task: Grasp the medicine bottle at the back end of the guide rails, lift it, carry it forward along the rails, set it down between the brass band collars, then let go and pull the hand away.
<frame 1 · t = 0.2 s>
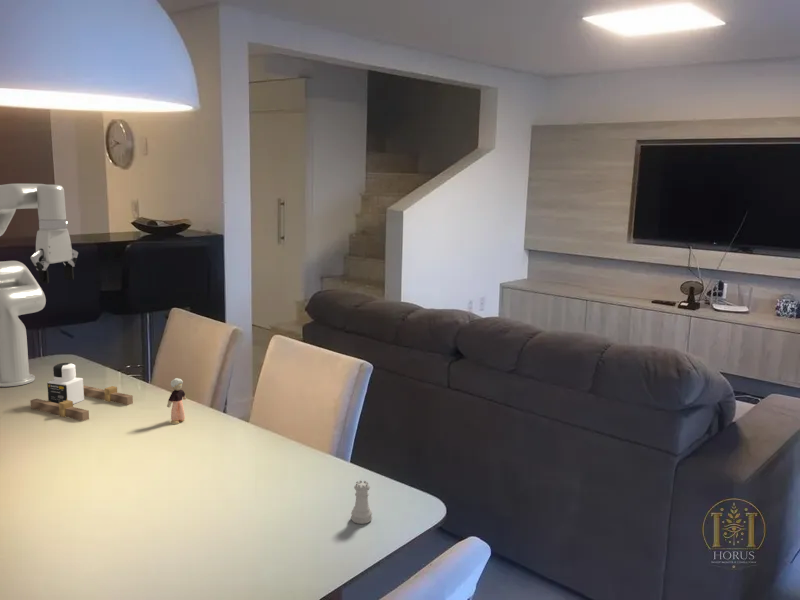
hand: (57, 281, 213), 36 cm above the table, tool pointing down, fingers open, 9 cm apart
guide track: (82, 405, 207), on the table
grandmother figurine: (178, 421, 197), on the table
rook chess piece: (361, 520, 142), on the table
medicine bottle: (66, 403, 210), on the table
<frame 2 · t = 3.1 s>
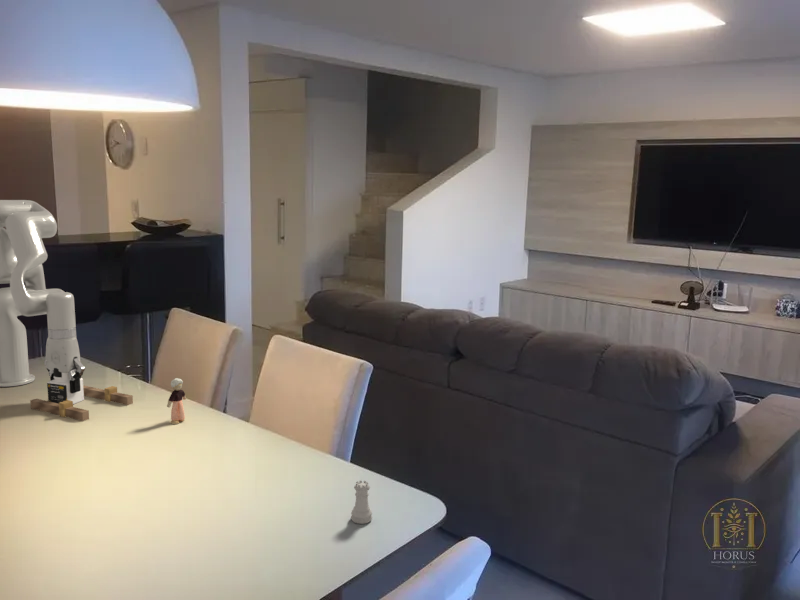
hand: (65, 389, 210), 4 cm above the table, tool pointing down, fingers closed on medicine bottle, 7 cm apart
medicine bottle: (66, 402, 210), on the table, touching gripper
everything else where it was.
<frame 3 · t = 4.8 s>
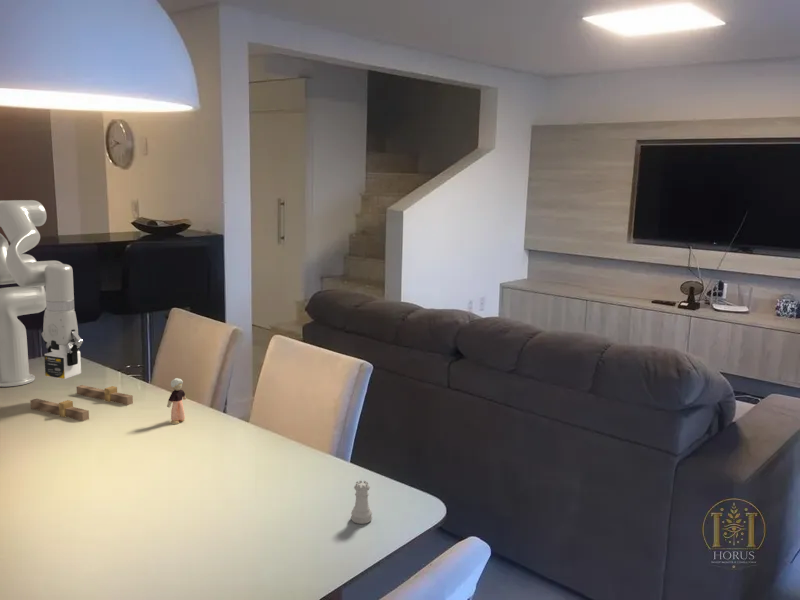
hand: (63, 362, 209), 12 cm above the table, tool pointing down, fingers closed on medicine bottle, 7 cm apart
medicine bottle: (63, 375, 210), point 8 cm above the table, touching gripper
everything else where it was.
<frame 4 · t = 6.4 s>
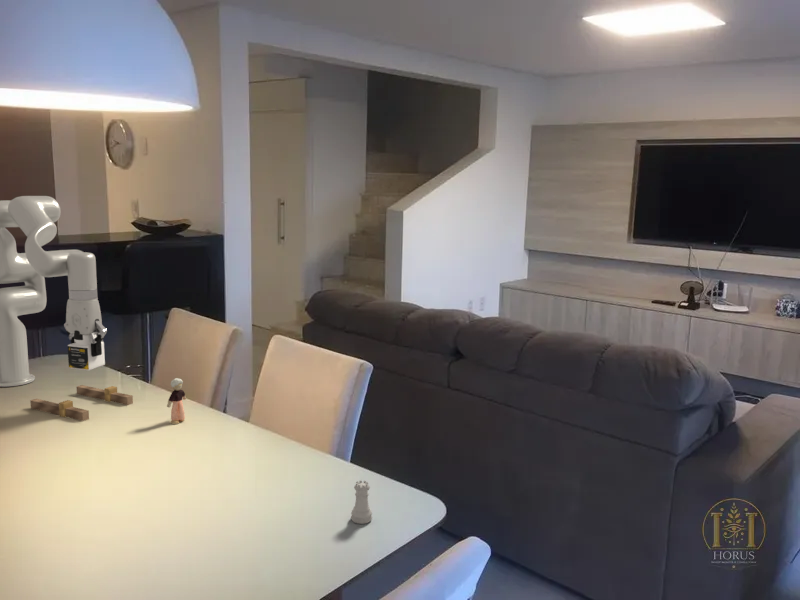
hand: (86, 353, 203), 17 cm above the table, tool pointing down, fingers closed on medicine bottle, 7 cm apart
medicine bottle: (87, 367, 204), point 12 cm above the table, touching gripper
everything else where it was.
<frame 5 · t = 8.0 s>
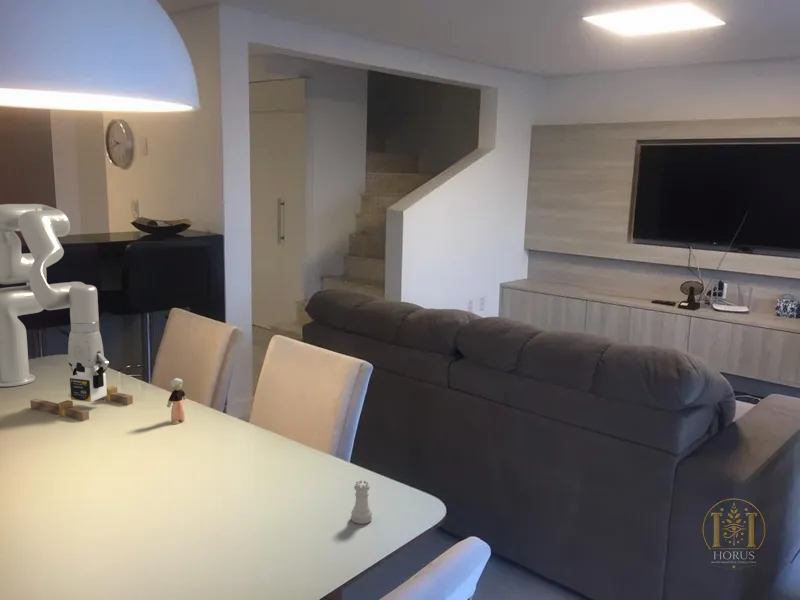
hand: (88, 384, 205), 7 cm above the table, tool pointing down, fingers closed on medicine bottle, 7 cm apart
medicine bottle: (89, 398, 206), point 3 cm above the table, touching gripper
everything else where it was.
when the fingers open (5 cm above the table, at t = 9.5 s): medicine bottle stays where it is, on the table.
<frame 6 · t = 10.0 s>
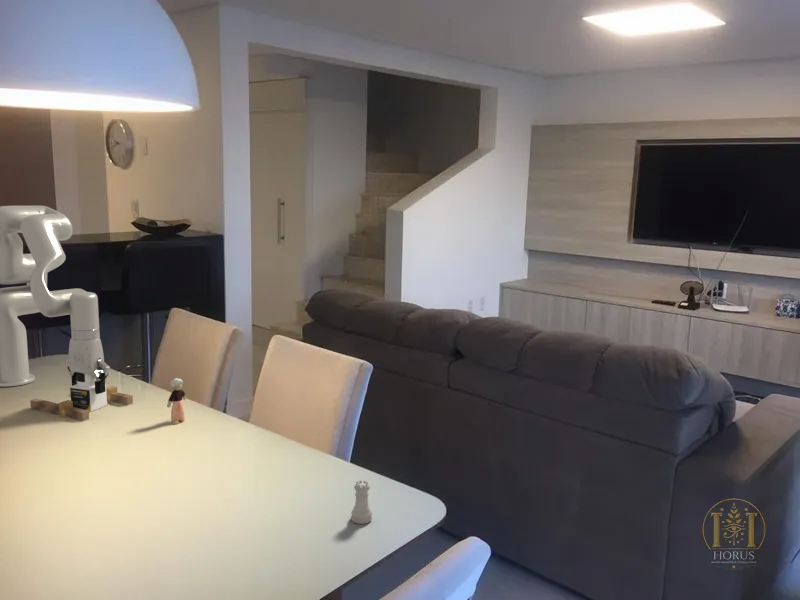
hand: (88, 390, 205), 5 cm above the table, tool pointing down, fingers open, 9 cm apart
medicine bottle: (89, 408, 206), on the table
everything else where it was.
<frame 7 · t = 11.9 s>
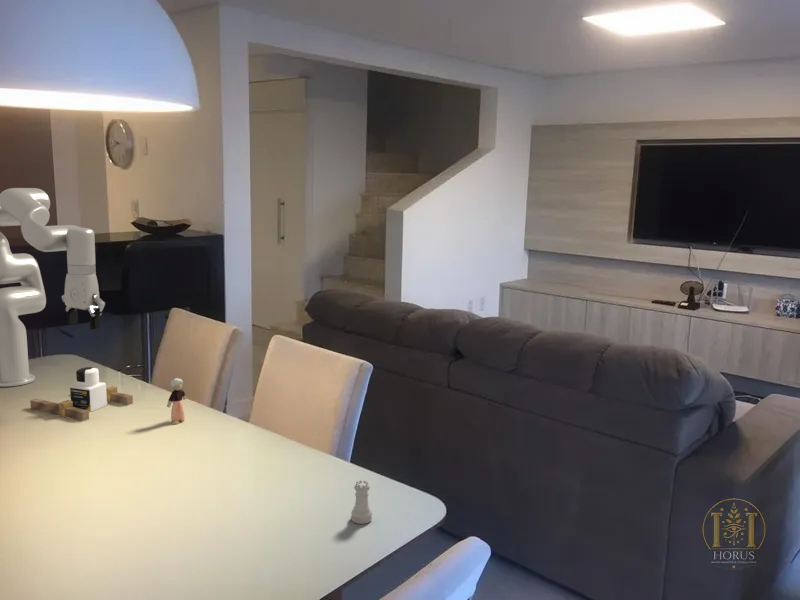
hand: (83, 326, 207), 24 cm above the table, tool pointing down, fingers open, 9 cm apart
nothing on the table moved.
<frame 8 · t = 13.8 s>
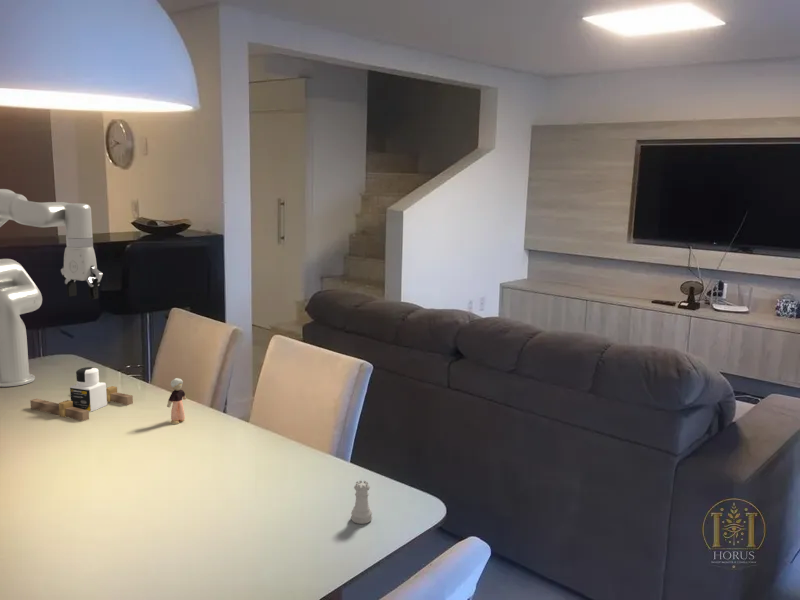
hand: (82, 297, 218), 30 cm above the table, tool pointing down, fingers open, 9 cm apart
nothing on the table moved.
at the end: medicine bottle 0.2 cm from the target spot, on the table; medicine bottle tilted 0°; the gripper is holding nothing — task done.
